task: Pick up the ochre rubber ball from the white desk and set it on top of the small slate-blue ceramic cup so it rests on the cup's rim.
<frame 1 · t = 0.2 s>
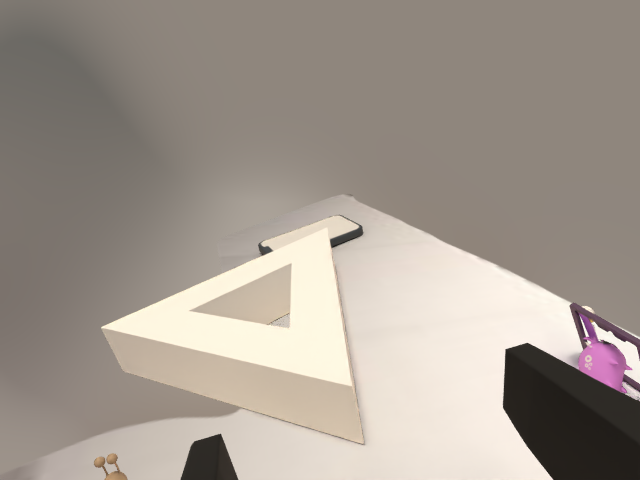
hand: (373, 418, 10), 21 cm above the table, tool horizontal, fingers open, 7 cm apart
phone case: (311, 244, 70), on the table
triangle block: (288, 365, 45), on the table
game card: (613, 397, 34), on the table
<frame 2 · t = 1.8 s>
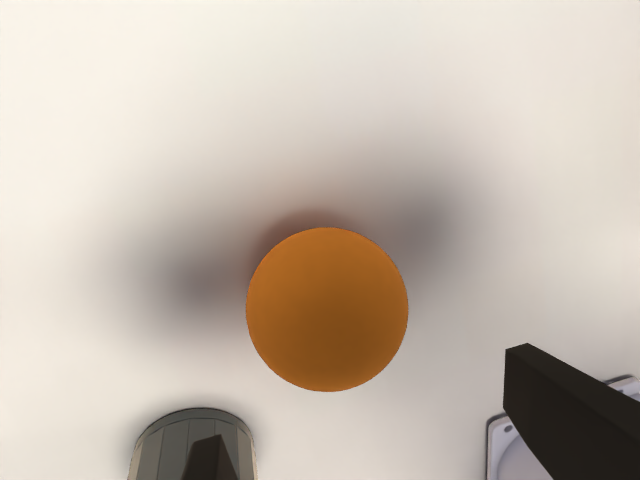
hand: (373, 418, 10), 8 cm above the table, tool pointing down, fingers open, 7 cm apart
cup: (195, 451, 20), on the table
ball: (311, 269, 17), on the table
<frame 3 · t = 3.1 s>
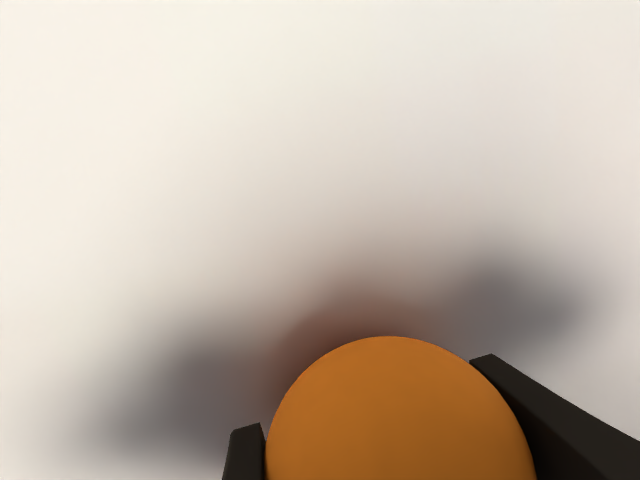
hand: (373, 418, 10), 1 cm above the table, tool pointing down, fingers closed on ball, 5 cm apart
ball: (355, 378, 12), on the table, touching gripper
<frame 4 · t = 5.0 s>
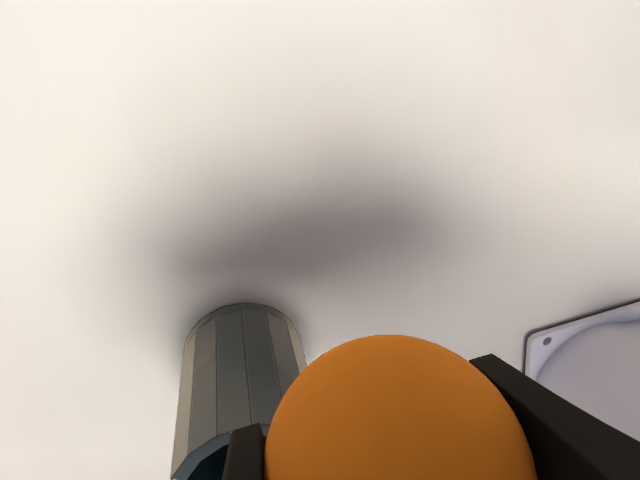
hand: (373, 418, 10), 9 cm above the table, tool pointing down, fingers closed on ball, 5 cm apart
cup: (243, 351, 20), on the table
ball: (355, 377, 12), point 8 cm above the table, touching gripper
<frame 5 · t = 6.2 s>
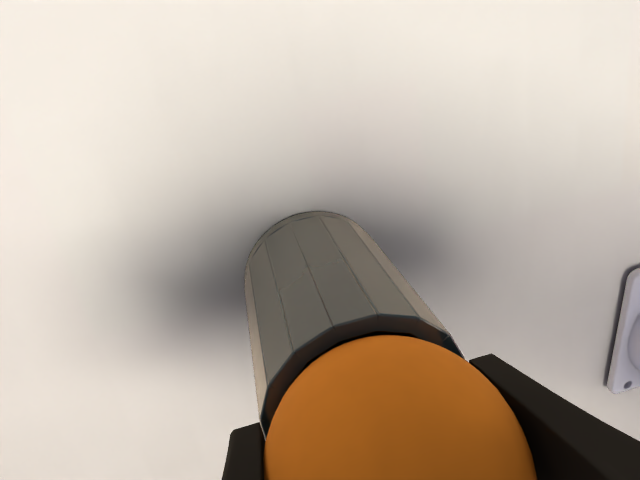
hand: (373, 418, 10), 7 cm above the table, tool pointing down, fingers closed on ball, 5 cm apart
cup: (312, 274, 17), on the table
ball: (354, 378, 12), point 6 cm above the table, touching gripper
when the fingers open (7 cm above the table, at t = 6.7 s): ball stays where it is, resting on cup.
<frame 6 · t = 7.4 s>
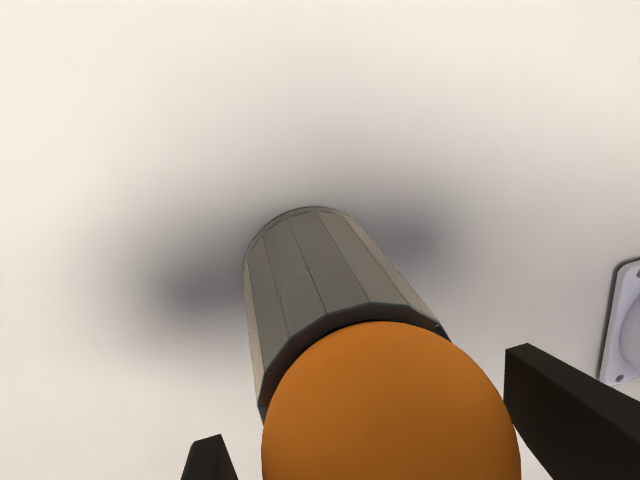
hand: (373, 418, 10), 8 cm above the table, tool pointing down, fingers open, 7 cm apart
cup: (309, 268, 17), on the table, touching ball
ball: (349, 363, 12), point 6 cm above the table, touching cup
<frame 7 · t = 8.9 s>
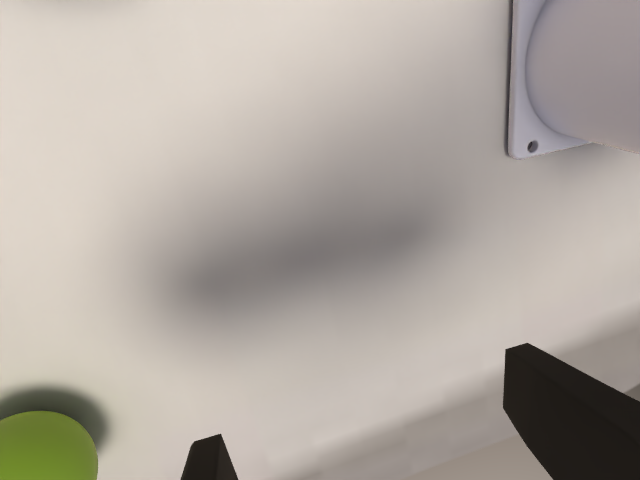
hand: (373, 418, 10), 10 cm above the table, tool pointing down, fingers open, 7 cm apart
snail figurine: (37, 427, 20), on the table
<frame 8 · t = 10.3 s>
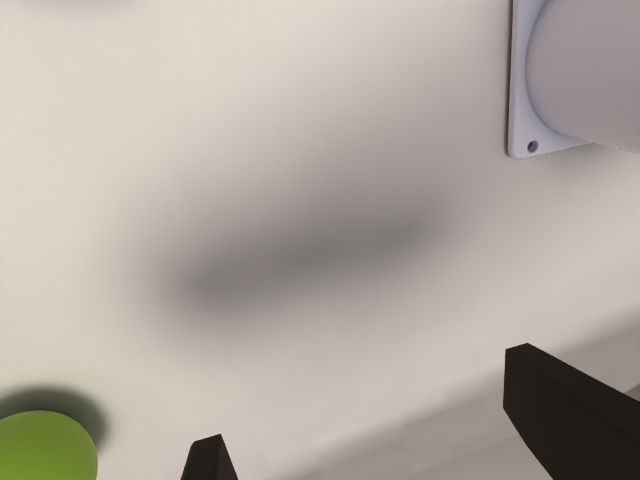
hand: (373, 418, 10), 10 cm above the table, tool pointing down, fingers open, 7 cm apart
snail figurine: (37, 427, 20), on the table
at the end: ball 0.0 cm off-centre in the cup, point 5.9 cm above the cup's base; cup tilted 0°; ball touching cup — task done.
